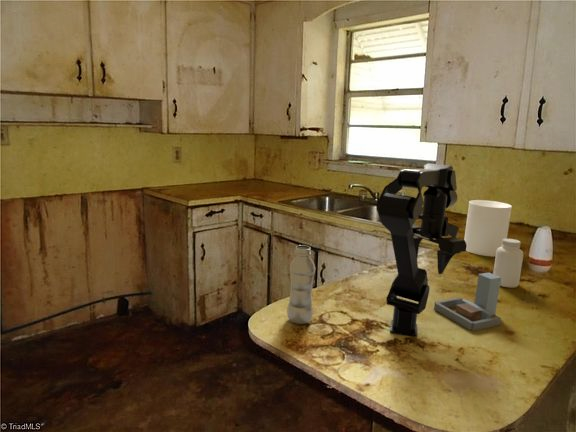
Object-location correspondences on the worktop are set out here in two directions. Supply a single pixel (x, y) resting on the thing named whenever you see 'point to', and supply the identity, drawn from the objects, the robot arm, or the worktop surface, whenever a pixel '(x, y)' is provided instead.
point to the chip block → (468, 311)
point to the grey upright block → (486, 294)
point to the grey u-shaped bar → (476, 325)
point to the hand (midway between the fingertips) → (426, 268)
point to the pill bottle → (508, 263)
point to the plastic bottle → (301, 286)
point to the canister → (486, 226)
